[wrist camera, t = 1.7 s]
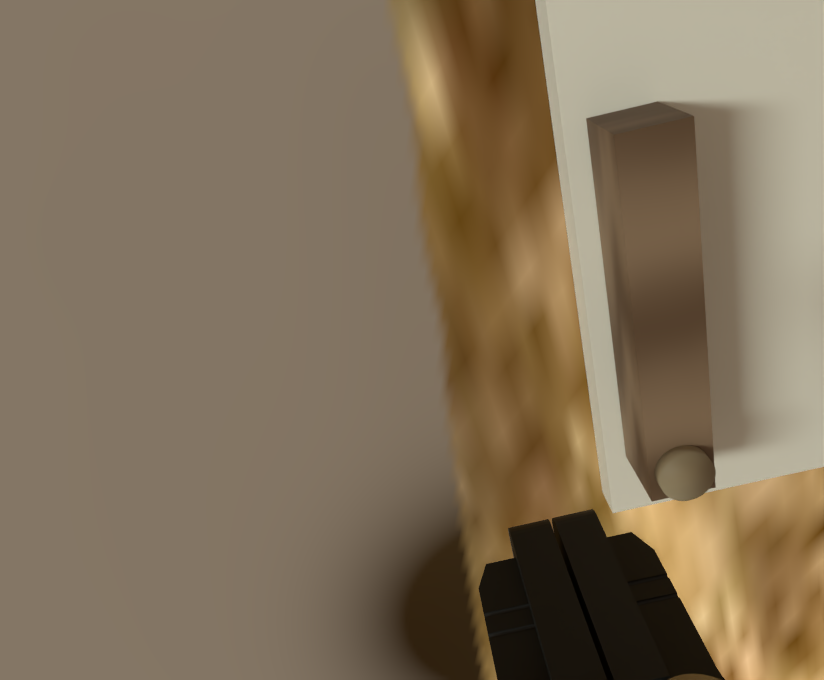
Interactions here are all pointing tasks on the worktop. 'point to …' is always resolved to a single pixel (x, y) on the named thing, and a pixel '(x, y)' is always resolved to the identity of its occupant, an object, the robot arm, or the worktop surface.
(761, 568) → the worktop surface
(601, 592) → the robot arm
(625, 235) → the folding leg
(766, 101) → the stool seat
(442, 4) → the worktop surface
